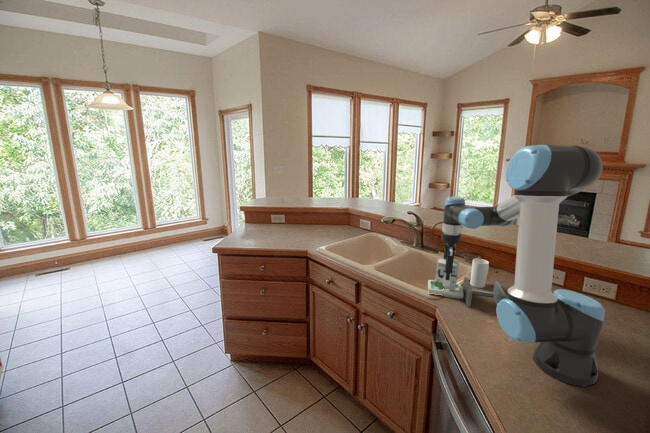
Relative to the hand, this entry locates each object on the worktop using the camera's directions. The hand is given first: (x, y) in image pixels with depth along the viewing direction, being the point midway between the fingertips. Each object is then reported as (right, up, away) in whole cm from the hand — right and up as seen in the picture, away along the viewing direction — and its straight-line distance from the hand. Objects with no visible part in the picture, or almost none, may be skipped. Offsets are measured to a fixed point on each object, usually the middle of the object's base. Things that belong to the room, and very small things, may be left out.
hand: (445, 282), depth 135 cm
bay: (+13, -6, -7) cm, 16 cm away
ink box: (0, -2, 0) cm, 2 cm away
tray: (0, -4, +1) cm, 4 cm away
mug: (+20, -3, +9) cm, 22 cm away
